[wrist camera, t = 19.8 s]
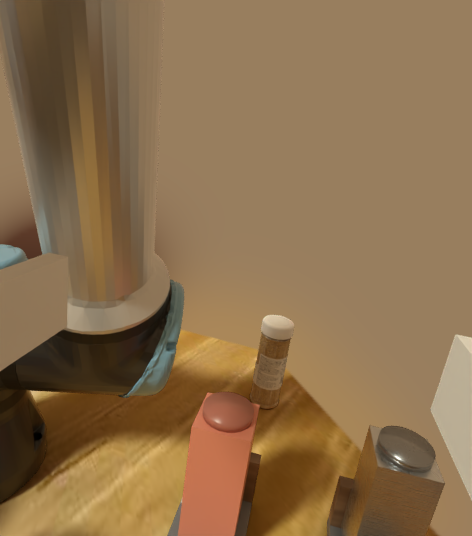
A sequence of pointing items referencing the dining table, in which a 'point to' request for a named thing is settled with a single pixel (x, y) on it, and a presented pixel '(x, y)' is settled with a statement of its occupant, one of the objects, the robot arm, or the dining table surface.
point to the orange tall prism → (217, 465)
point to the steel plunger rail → (339, 506)
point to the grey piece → (246, 500)
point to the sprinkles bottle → (271, 360)
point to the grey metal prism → (393, 485)
